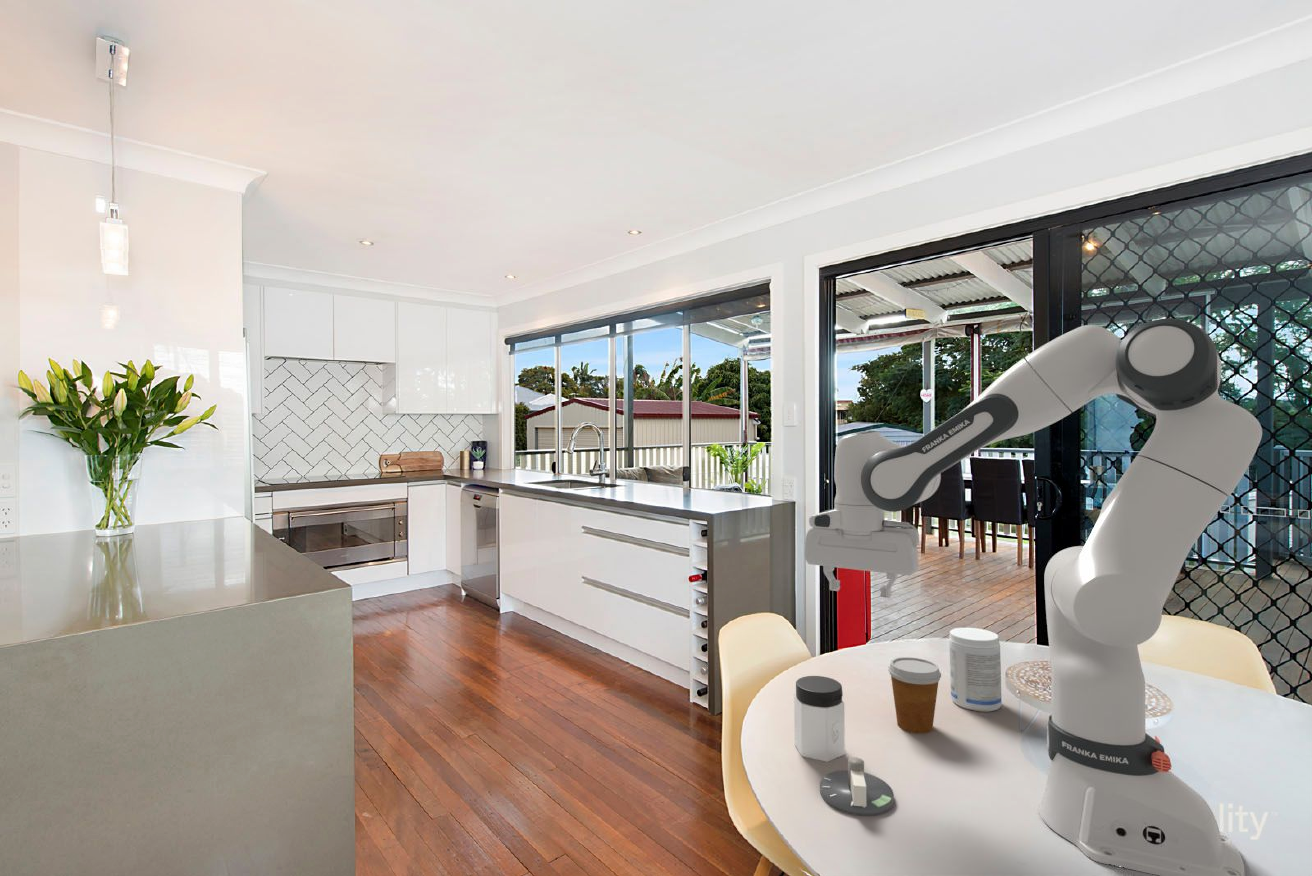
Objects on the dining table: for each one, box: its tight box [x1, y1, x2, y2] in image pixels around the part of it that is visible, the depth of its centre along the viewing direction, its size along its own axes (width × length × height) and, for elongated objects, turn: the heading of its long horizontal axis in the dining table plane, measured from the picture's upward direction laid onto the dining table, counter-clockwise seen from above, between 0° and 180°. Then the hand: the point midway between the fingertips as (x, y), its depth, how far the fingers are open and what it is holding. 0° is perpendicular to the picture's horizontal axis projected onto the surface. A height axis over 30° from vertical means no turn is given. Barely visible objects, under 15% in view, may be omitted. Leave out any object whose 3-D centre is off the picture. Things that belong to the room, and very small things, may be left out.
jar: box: [793, 675, 846, 763], centre depth 114 cm, size 9×8×12 cm
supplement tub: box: [948, 627, 1003, 713], centre depth 133 cm, size 10×10×15 cm
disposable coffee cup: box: [887, 656, 942, 735], centre depth 123 cm, size 10×10×12 cm
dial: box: [819, 769, 895, 817], centre depth 99 cm, size 11×11×1 cm
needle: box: [847, 756, 866, 807], centre depth 97 cm, size 6×2×4 cm, turn 168°
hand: (859, 593), depth 118 cm, fingers open, 8 cm apart
